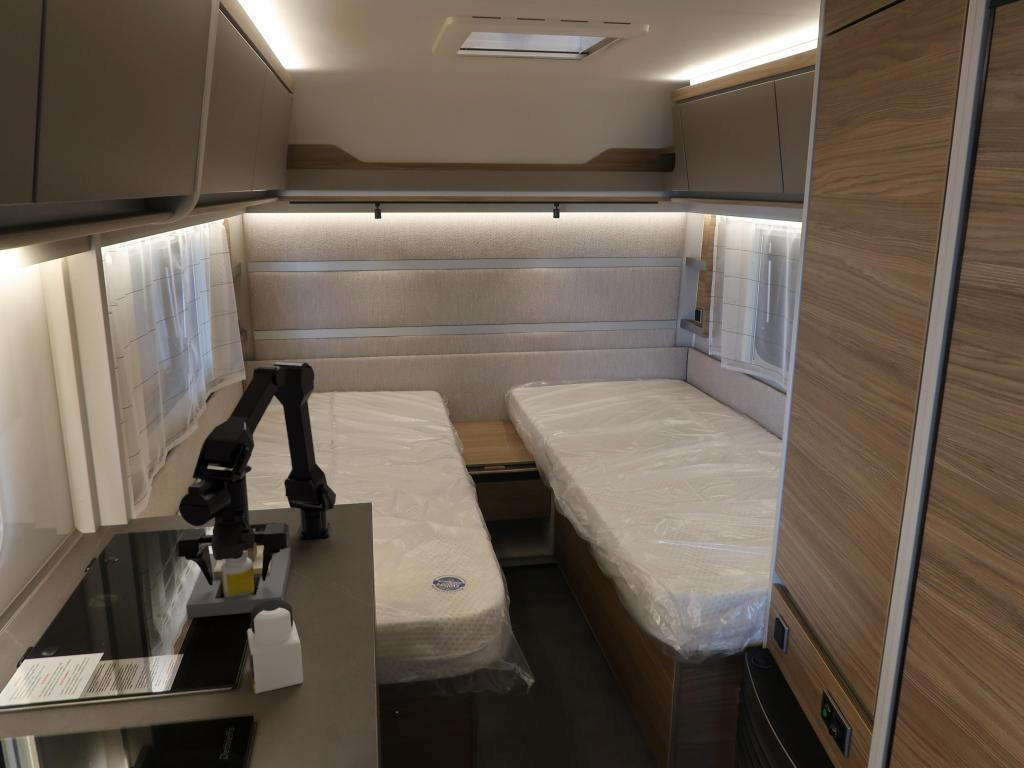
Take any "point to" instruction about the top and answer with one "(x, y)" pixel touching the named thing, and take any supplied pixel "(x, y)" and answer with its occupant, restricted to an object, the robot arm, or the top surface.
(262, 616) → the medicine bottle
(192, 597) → the board
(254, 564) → the lid
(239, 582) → the supplement bottle
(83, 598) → the top surface
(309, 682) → the top surface
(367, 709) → the top surface
